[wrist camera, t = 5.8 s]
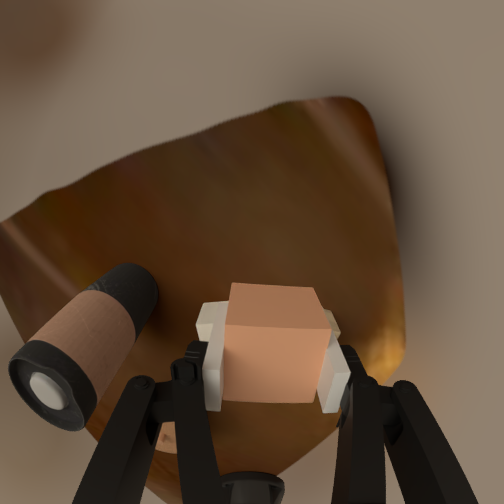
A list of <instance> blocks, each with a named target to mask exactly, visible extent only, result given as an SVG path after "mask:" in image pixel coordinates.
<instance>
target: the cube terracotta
mask: <svg viewBox="0 0 504 504" xmlns="http://www.w3.org/2000/svg"><path fill="white" fill-rule="evenodd" d="M331 331H332V328H331V326H330V324H329V322H328V319H327V317H326V315H325V313H324V311H323V308H322V306H321V304H320V302H319V300H318V298H317V295H316V293H315V291H314V289H313V288H310V287H291V286H274V285H258V284H243V283H232V286H231V292H230V298H229V303H228V309H227V315H226V320H225V334H224V388H223V400H229V401H243V402H265V403H313V401H314V397H315V394H316V390H317V385H318V381H319V377H320V373H321V369H322V365H323V361H324V356H325V352H326V349H327V348H328V344H329V340H330V336H331Z"/></svg>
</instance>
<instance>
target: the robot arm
mask: <svg viewBox="0 0 504 504" xmlns="http://www.w3.org/2000/svg"><path fill="white" fill-rule="evenodd" d="M322 308H323V307H322ZM227 309H228V303H220V302H219V304H218V308H217V312H216V316H215V320H214V323H213V327H212V331H211V335H210V339H209V342H207V341H196V340H193V341H192V342H191V343H190V344H189V345H188V347H187V350H186V353H185V356H184V358H181V359H178V360H175V361H174V362H173V363H172V364H171V367H170V368H171V376H172V380H170V381H167V382H160V383H155V381H154V380H153V379H152V378H151V377H148V376H145V375H139V376H135V377H133V378H131V379H130V380H129V381H128V383H127V385H126V387H125V389H124V391H123V393H122V395H121V397H120V399H119V401H118V403H117V405H116V407H115V409H114V411H113V413H112V415H111V417H110V419H109V421H108V423H107V425H106V427H105V430H104V432H103V434H102V436H101V438H100V440H99V442H98V445H97V447H96V449H95V451H94V454H93V456H92V458H91V460H90V462H89V464H88V467H87V469H86V471H85V474H84V476H83V478H82V481H81V483H80V485H79V488H78V490H77V492H76V495H75V497H74V500H73V502H72V504H140V501H141V497H142V493H143V490H144V486H145V482H146V479H147V475H148V472H149V468H150V465H151V461H152V458H153V454H154V451H155V447H156V444H157V441H158V437H159V434H160V431H161V427H162V424H163V423H165V422H174V423H175V437H176V448H177V458H178V468H179V477H180V485H181V492H182V499H183V504H280V503H281V501H282V498H283V495H284V491H285V489H284V482H283V480H282V479H280V478H279V477H277V476H274V475H271V474H266V473H260V472H236V473H230V474H226V475H223V476H221V477H220V474H219V470H218V466H217V461H216V456H215V452H214V447H213V442H212V437H211V432H210V427H209V422H208V417H207V411H206V410H208V411H219V412H220V410H221V403H222V395H223V388H224V334H225V320H226V315H227ZM323 311H324V309H323ZM324 313H325V312H324ZM325 315H326V314H325ZM326 317H327V316H326ZM327 319H328V318H327ZM328 322H329V321H328ZM329 324H330V323H329ZM330 326H331V325H330ZM331 328H332V327H331ZM317 391H318V395H319V399H320V404H321V408H322V412H323V413H335V412H338V409H339V406H341V409H342V413H341V415H340V418H339V421H338V423H337V426H336V427H338V426H339V436H338V448H337V459H336V469H335V478H334V486H333V493H332V501H331V504H386V476H385V451H384V444H385V447H386V449H387V452H388V455H389V457H390V460H391V463H392V466H393V469H394V471H395V474H396V477H397V480H398V483H399V486H400V489H401V492H402V495H403V498H404V501H405V504H478V502H477V499H476V497H475V495H474V493H473V491H472V489H471V487H470V484H469V482H468V480H467V478H466V476H465V474H464V472H463V470H462V468H461V466H460V464H459V462H458V460H457V458H456V456H455V454H454V453H453V451H452V449H451V447H450V445H449V443H448V441H447V439H446V438H445V436H444V434H443V432H442V430H441V429H440V427H439V425H438V423H437V421H436V420H435V418H434V416H433V414H432V413H431V411H430V409H429V407H428V406H427V404H426V402H425V401H424V399H423V397H422V396H421V394H420V392H419V391H418V389H417V387H416V386H415V385H414V384H413V383H411V382H409V381H406V380H400V381H397V382H395V383H394V385H393V387H387V386H381V385H378V383H377V381H376V380H375V379H374V378H372V377H370V376H368V375H367V373H366V371H365V369H364V367H363V365H362V363H361V361H360V359H359V357H358V355H357V353H356V351H355V349H353V348H352V347H351V346H350V345H339V344H338V341H337V339H336V337H335V334H334V332H333V330H332V331H331V336H330V340H329V344H328V348H327V349H326V352H325V356H324V361H323V365H322V369H321V373H320V377H319V381H318V385H317Z"/></svg>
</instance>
